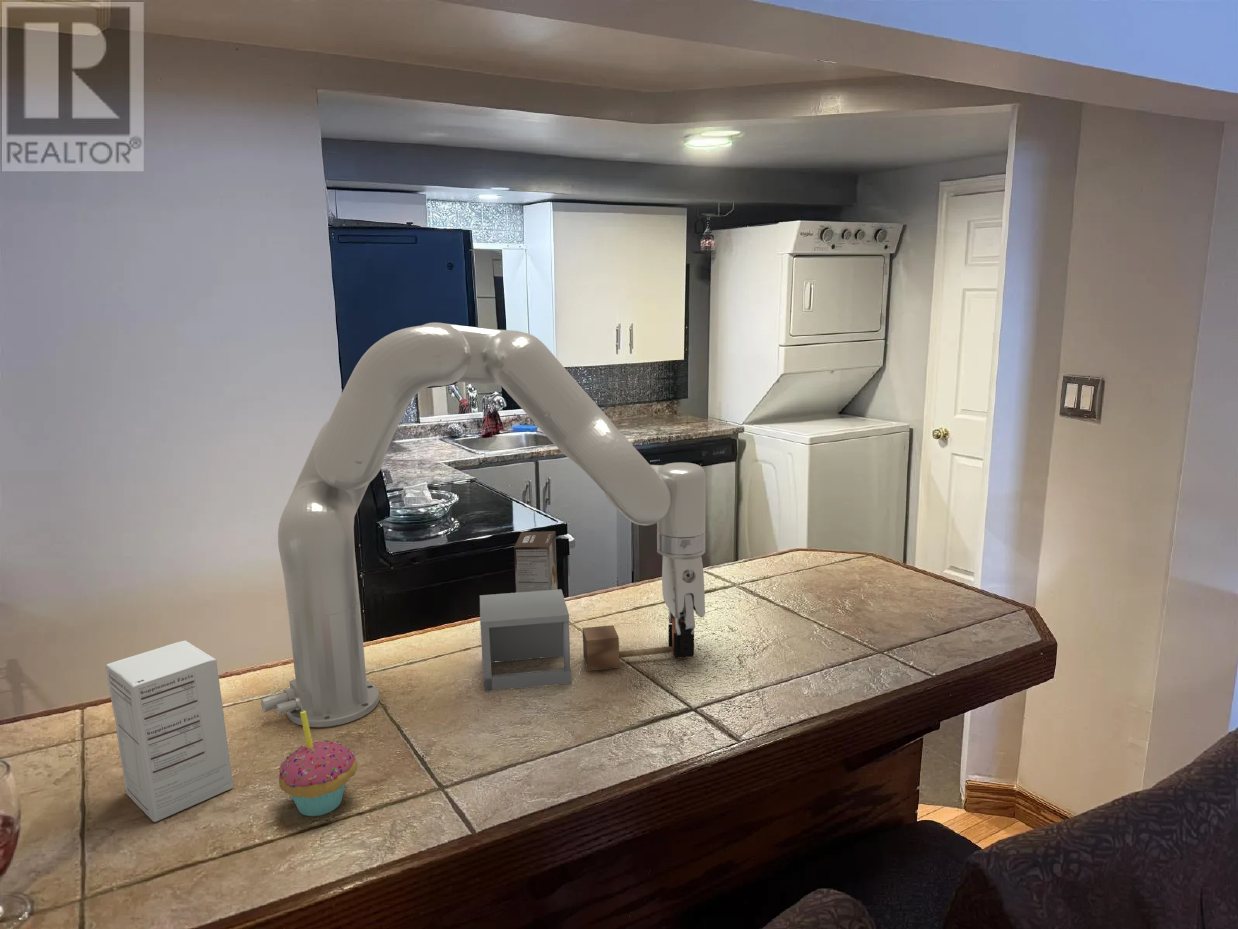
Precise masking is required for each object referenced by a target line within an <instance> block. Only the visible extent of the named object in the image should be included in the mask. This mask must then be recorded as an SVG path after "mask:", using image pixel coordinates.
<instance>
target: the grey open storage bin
mask: <svg viewBox="0 0 1238 929" xmlns="http://www.w3.org/2000/svg"><path fill="white" fill-rule="evenodd" d="M557 589H558V588H557ZM567 606H568V605H567V604H566V600H565V596H564V594H563V590H562V589H561V588H560V589H558V590H545V591H532V592H519V593H516V592H510V593H509V592H508V593H496V594H493V593H492V594H483V595H482V594H481V595H479V617H480V620H479V623H480V640H481V661H482V675H483V676H482V677H483V692H484V691H485V692H493V691H494V690H496V691H504V690H503V689H506V690H512V689H511V688H517V689H525V688H526V687H527V688H534V687H535V688H538V687H546V686H545V685H549V686H556V685H555V684H559V685H569V684H572V671H571V649H570V645H571V644H570V613H569V610H568V608H567ZM557 656H558V657H563V660H562V661H563V668H558V669H545V670H536V671H535V670H534V671H525V672H515V673H514V672H513V673H503V674H492V663H496V662H495V661H502V662H510V661H523V660H522V659H524V660H530V659H529V658H535V659H541V658H540V657H547V658H554V657H555V658H558V657H557ZM537 686H538V687H537Z"/></svg>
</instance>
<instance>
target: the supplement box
mask: <svg viewBox="0 0 1238 929" xmlns="http://www.w3.org/2000/svg"><path fill="white" fill-rule="evenodd" d="M217 661H218V660H217V659H216V658H215V657H213V656H211V655H209V654H207V652H205V651H203V650H201V649H200V648H198V647H197V646H195V645H193V644H192V643H190V642H189V641H188V640H182V641H177V642H174V643H171V644H167V645H165V646H164V645H163V646H161V647H157V648H154V649H151V650H148V651H145V652H141V653H138V654H136V655H132V656H129V657H125V658H122V659H119V660H116V661H113V662H110V663H109V662H108V663H107V664H105V671H106V676H107V682H108V687H109V693H110V700H111V706H112V711H113V716H114V722H115V726H116V736H117V743H118V748H119V756H120V762H121V766H122V767H121V768H122V774H123V782H124V787H125V792H126V795H127V796H128V797H129V798H130V799H131V800H132V801H133V802H134V803H135V805H137V806H138V807H139V809H141V810H142V811H143V812H144V813H145V815H146V816H147V817H148V818H149V819H150V820H151V821H152V822H153V823H157V822H158V821H161V820H163V819H166V818H168V817H170V816H172V815H175V814H176V813H180V812H181V811H185V809H189V808H190V807H192V806H195V805H198V804H200V803H202V802H204V801H207V800H208V799H211V798H213V797H215V796H217V795H220V794H223V793H224V792H226V791H229V790H231V789H233V788H234V781H233V775H232V766H231V759H230V754H229V752H230V751H229V745H228V737H227V730H226V728H227V727H226V721H225V714H224V708H223V707H224V706H223V701H222V700H223V699H222V698H223V697H222V692H221V685H220V676H219V670H218V668H219V667H218V662H217Z"/></svg>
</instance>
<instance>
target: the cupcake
mask: <svg viewBox="0 0 1238 929" xmlns="http://www.w3.org/2000/svg"><path fill="white" fill-rule="evenodd" d="M300 707H301V710H302V712H300V715H301V720H302V725H303V726H302V725H301V726H302V729H303V734H304V740H305V744H304V745H301V746H300V747H297V748H296V749H295V750H294V751H292V752H290V753H289V754H288V756H286V757H285V758H284V759H283V761H282V763H281V764H279V766H280V767H279V774H278V775H279V777H278V784H279V785H278V786H279V788H280V790H281V791H283V792H284V793H286V794H288V795H290V797H291V798H292V800H293V802H294V804H295V805H296V807H297V810H298V812H299V813H300V814H302V815H303V816H305V817H306V816H307V817H320V816H323V815H327V814H329V813H331V812H333V811H335V809H337V808H338V807H339V806H340V804H341V803H342V800H343V794H344V790H345V787H346V784H347V782H349V780H350V779H351V778H352V777H354V776H355V775H356V772H357V768H358V761H357V758H356V756H355V752H354V751H352V750H350V748H349V746H344V745H343V744H342V743H339V742H337V741H330V740H324V741H319V740H318V741H314V742H313V740H312V734H311V729H310V727H309V724H308V719H307V714H306V711H304V710H303V707H302V705H300Z"/></svg>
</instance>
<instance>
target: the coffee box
mask: <svg viewBox="0 0 1238 929" xmlns="http://www.w3.org/2000/svg"><path fill="white" fill-rule="evenodd" d="M556 540H557V539H556V531H555V530H553V531H550V530H549V531H523V532H520V534H519V537H518V538H517V540H516V543H515V544H514V547H513V553H514V555H513V556H514V570H515V572H514V573H515V574H514V575H515V593H519V592H532V591H545V590H558V572H557V570H558V569H557V547H556V546H557V543H556V542H557V541H556Z"/></svg>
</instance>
